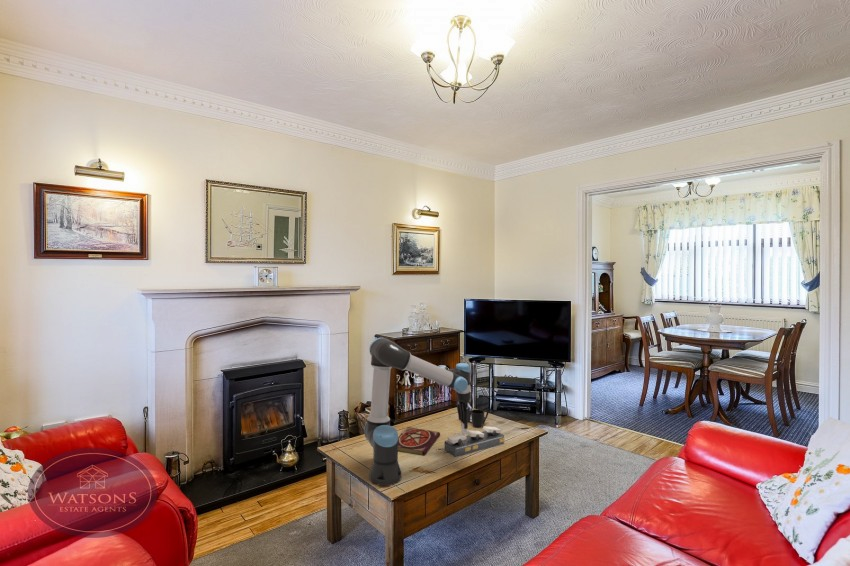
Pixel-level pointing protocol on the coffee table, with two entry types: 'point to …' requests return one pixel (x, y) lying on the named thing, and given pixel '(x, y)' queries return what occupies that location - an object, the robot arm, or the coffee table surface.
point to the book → (417, 440)
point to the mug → (478, 417)
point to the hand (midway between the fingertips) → (464, 433)
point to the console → (474, 444)
